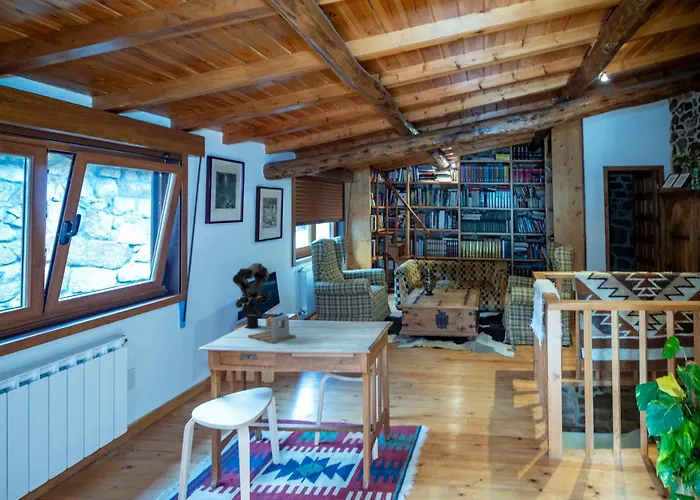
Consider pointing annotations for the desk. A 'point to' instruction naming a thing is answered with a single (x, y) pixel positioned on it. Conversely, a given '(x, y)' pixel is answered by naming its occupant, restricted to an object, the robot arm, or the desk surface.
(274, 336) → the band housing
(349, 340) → the desk surface
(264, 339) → the walnut board
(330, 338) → the desk surface
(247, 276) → the robot arm
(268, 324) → the gold rounded piece
